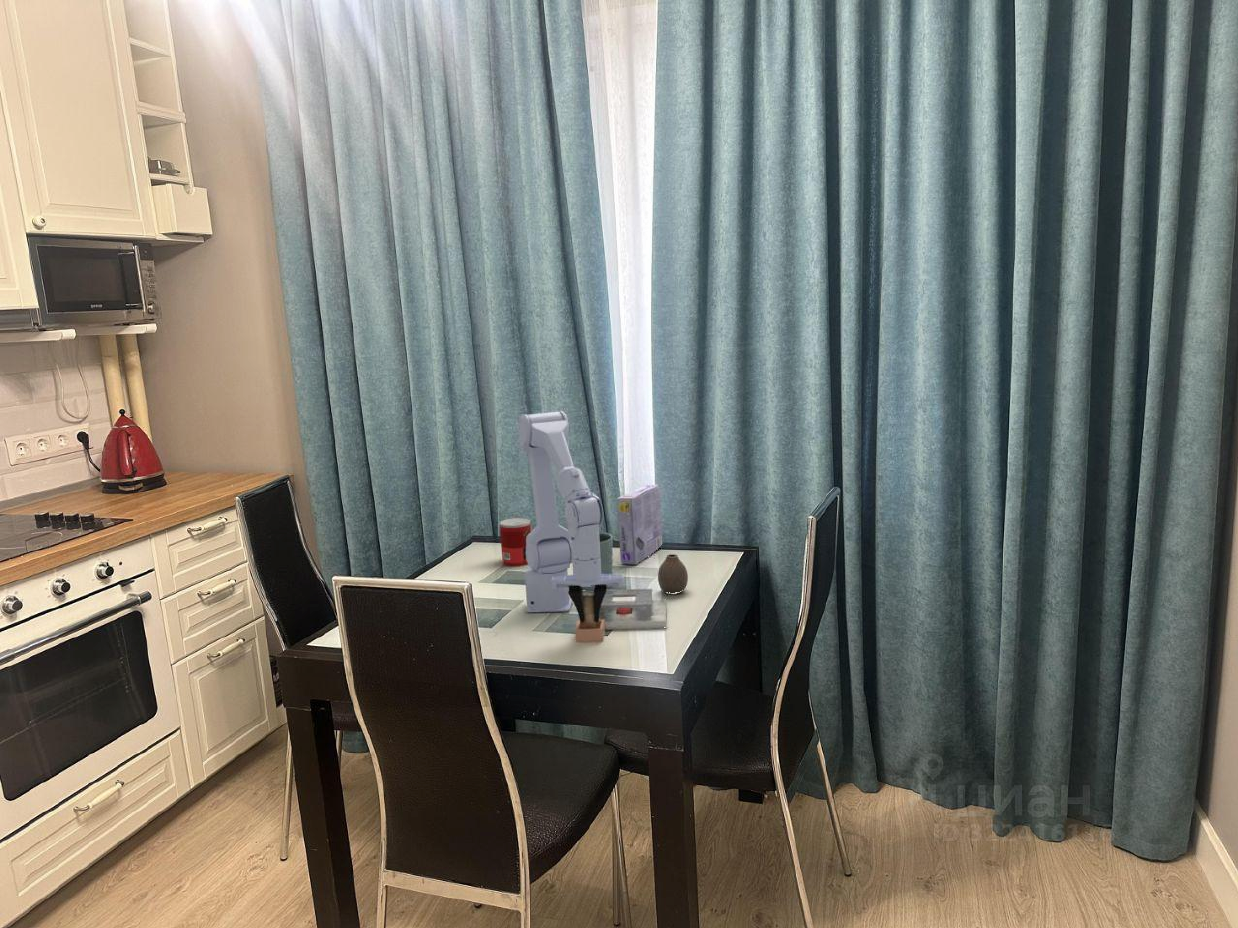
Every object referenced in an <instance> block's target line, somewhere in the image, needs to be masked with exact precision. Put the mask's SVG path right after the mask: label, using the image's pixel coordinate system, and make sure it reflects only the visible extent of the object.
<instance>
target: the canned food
mask: <svg viewBox="0 0 1238 928" xmlns="http://www.w3.org/2000/svg"><path fill="white" fill-rule="evenodd" d="M531 527H532V526H531V521H530V519H528V518H522V517H521V518H519V517H516V518H515V517H514V518H506V519H504V520H501V521H500V522H499V534H500V546H501V547H500V548H501V559H502V563H503V564H504V565H505V566H510V567H520V566H525V565H528V562H527V559H526V537H527V536H528V534H529V533H530V532H531V531H532V529H531Z"/></svg>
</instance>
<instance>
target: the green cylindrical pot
mask: <svg viewBox="0 0 1238 928" xmlns="http://www.w3.org/2000/svg"><path fill="white" fill-rule="evenodd" d="M599 538H600V558H601V574H610V575H614V573H613V569H614V568H613V563H614V562H613V556H614V555H613V546H614V545H613V539H614V537H613V535H612V534H611V533H608V532H600V531H599ZM612 587H613V586H607V590H610V589H611V588H612ZM594 588H595V587H583V590H585V592H594Z"/></svg>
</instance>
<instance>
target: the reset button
mask: <svg viewBox="0 0 1238 928" xmlns="http://www.w3.org/2000/svg"><path fill="white" fill-rule="evenodd" d="M618 614H631V607H618Z"/></svg>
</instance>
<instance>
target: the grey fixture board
mask: <svg viewBox="0 0 1238 928" xmlns="http://www.w3.org/2000/svg"><path fill="white" fill-rule="evenodd" d="M614 598H635V600H614V601H613V599H614ZM618 607H631V614H618ZM667 608H668V606H667V599H653V588H636V589H635V588H634V589H631V588H630V589H607V590H606V594H605V596H604V598H603V601H602V604H601V607H600V613H599V620H605V631H607V630H608V631H611V630H612V631H613V630H647V629H646V628H660V629H665V628H664V627H666V628H667V620H666V617H667V616H668V615H667V613H668V612H667V611H668V610H667Z"/></svg>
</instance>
